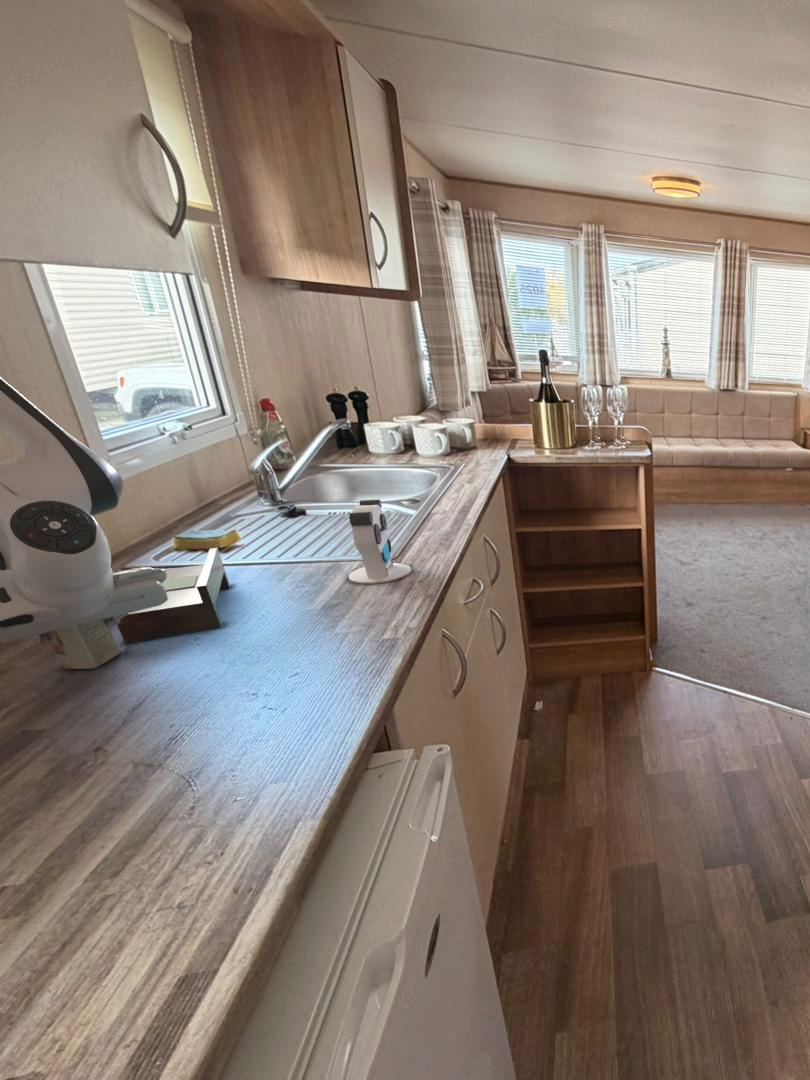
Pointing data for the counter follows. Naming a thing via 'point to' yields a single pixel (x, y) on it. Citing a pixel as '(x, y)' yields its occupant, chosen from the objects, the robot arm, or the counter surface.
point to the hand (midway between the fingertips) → (76, 629)
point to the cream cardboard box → (84, 645)
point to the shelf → (181, 603)
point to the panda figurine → (373, 545)
